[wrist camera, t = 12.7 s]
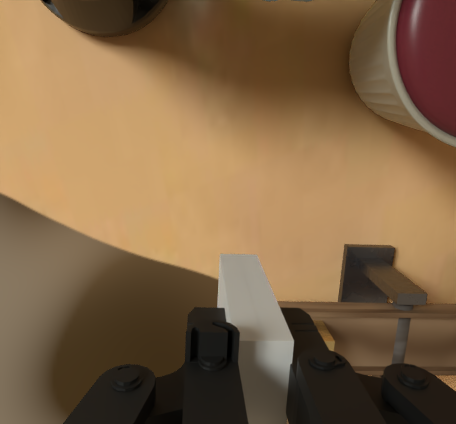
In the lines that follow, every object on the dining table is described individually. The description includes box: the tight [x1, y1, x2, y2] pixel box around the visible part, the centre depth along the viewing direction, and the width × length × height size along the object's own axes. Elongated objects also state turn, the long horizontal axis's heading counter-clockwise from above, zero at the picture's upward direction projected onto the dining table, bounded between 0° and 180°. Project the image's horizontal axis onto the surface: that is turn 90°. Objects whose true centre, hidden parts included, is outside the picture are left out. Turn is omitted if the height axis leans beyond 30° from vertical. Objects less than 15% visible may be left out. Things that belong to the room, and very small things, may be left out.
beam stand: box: [338, 244, 427, 378], centre depth 47 cm, size 14×6×12 cm, turn 177°
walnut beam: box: [277, 301, 456, 375], centre depth 41 cm, size 8×36×6 cm, turn 87°
